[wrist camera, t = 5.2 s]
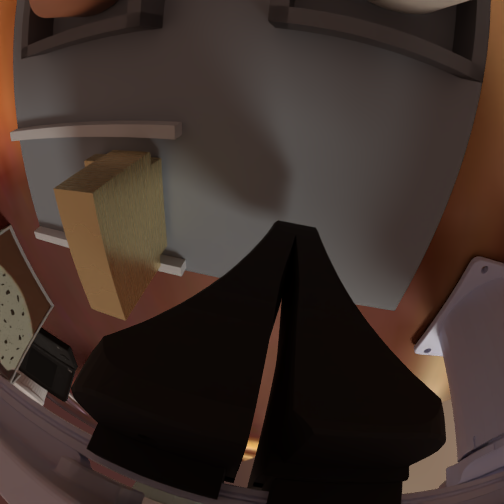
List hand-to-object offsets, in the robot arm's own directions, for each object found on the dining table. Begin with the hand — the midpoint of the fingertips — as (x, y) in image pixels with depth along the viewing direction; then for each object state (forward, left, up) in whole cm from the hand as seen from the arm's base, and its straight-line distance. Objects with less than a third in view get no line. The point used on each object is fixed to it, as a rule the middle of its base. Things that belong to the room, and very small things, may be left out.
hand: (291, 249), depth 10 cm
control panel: (+4, -5, -4) cm, 8 cm away
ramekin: (+50, +53, -4) cm, 73 cm away
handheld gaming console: (+28, +26, -4) cm, 38 cm away
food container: (+24, +11, -4) cm, 27 cm away
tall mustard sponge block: (+7, 0, -1) cm, 7 cm away
